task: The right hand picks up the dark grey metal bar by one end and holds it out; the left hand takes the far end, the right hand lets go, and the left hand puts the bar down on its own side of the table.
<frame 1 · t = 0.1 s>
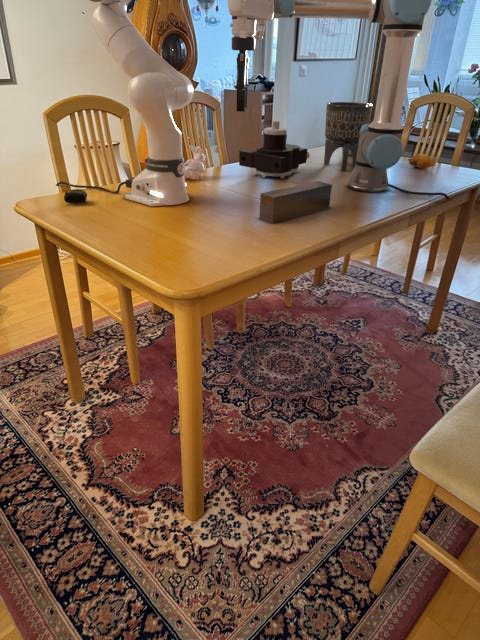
left hand: (251, 38, 121), 48 cm above the table, tool pointing down, fingers open, 8 cm apart
right hand: (242, 109, 155), 28 cm above the table, tool pointing down, fingers open, 13 cm apart
mechanical component: (280, 173, 196), on the table
rock: (358, 155, 238), on the table
toy: (420, 167, 214), on the table
figurine: (192, 178, 185), on the table
bar: (295, 213, 147), on the table
tape measure: (77, 203, 151), on the table
planter: (341, 167, 211), on the table
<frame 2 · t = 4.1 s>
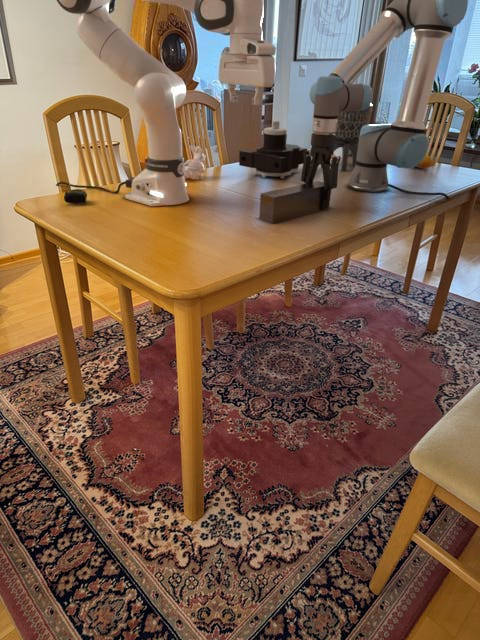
left hand: (244, 103, 130), 32 cm above the table, tool pointing down, fingers open, 8 cm apart
right hand: (316, 206, 152), 0 cm above the table, tool pointing down, fingers closed on bar, 6 cm apart
bar: (295, 213, 147), on the table, touching right hand
everything else where it was.
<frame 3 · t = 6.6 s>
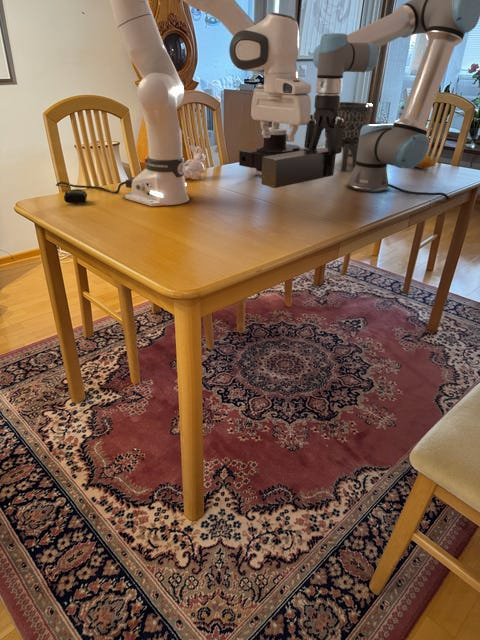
left hand: (278, 139, 129), 23 cm above the table, tool pointing down, fingers open, 8 cm apart
right hand: (319, 173, 147), 11 cm above the table, tool pointing down, fingers closed on bar, 6 cm apart
bar: (298, 179, 141), point 11 cm above the table, touching right hand
everything else where it was.
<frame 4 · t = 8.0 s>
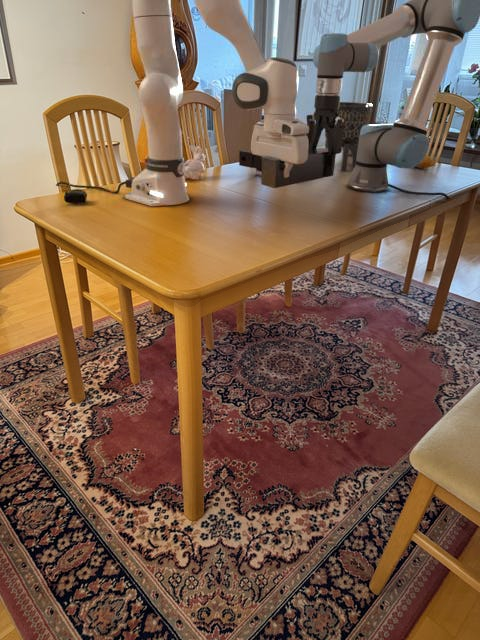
left hand: (276, 174, 134), 13 cm above the table, tool pointing down, fingers closed on bar, 6 cm apart
right hand: (319, 173, 147), 11 cm above the table, tool pointing down, fingers closed on bar, 6 cm apart
bar: (298, 179, 141), point 11 cm above the table, touching right hand, left hand
everything else where it was.
when the right hand's fingers open (11 cm above the table, at t = 9.1 s): bar stays where it is, held by the left hand.
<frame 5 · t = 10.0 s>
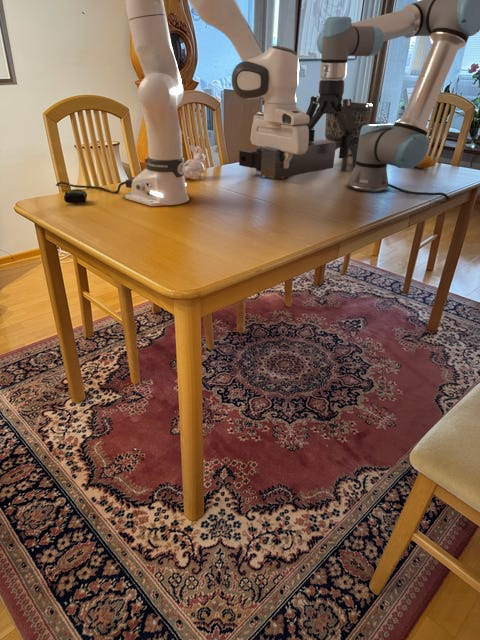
left hand: (276, 165, 133), 16 cm above the table, tool pointing down, fingers closed on bar, 6 cm apart
right hand: (325, 154, 145), 17 cm above the table, tool pointing down, fingers open, 13 cm apart
bar: (298, 171, 140), point 13 cm above the table, touching left hand
everything else where it was.
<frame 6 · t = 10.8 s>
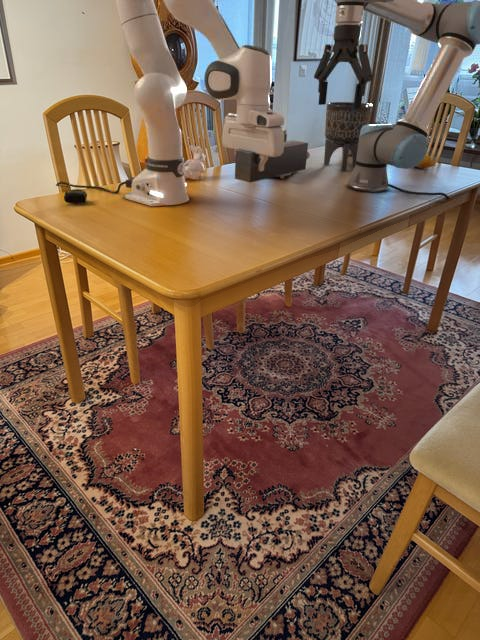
left hand: (250, 168, 129), 16 cm above the table, tool pointing down, fingers closed on bar, 6 cm apart
right hand: (339, 106, 140), 31 cm above the table, tool pointing down, fingers open, 13 cm apart
bar: (271, 173, 137), point 13 cm above the table, touching left hand
everything else where it was.
when the left hand's fingers open (4 cm above the table, at t = 13.9 s): bar stays where it is, on the table.
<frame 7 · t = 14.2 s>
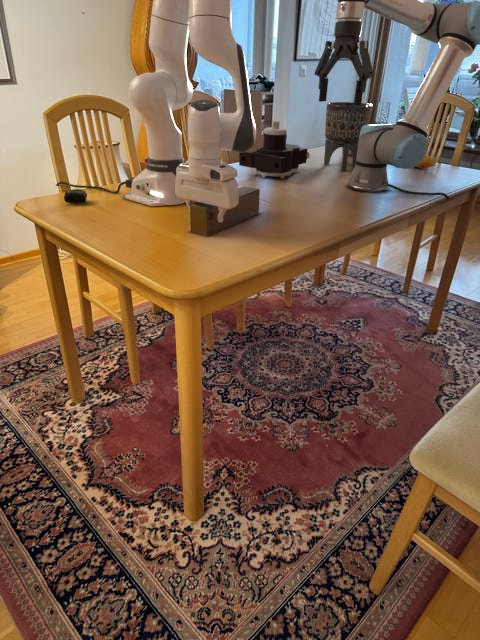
left hand: (206, 218, 128), 4 cm above the table, tool pointing down, fingers open, 8 cm apart
right hand: (339, 103, 140), 32 cm above the table, tool pointing down, fingers open, 13 cm apart
bar: (226, 222, 137), on the table
everything else where it was.
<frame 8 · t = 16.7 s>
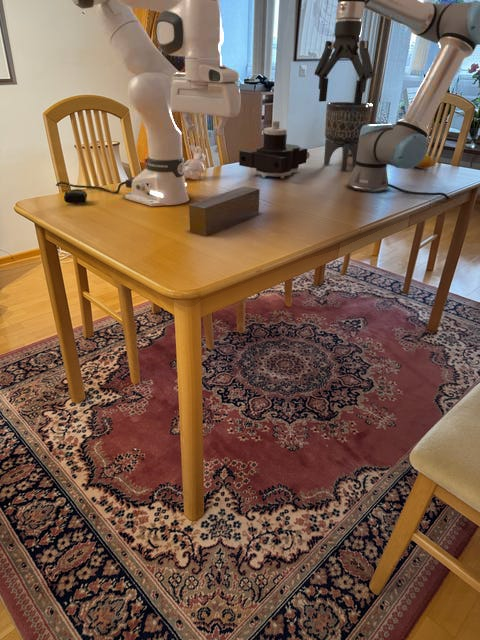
left hand: (204, 133, 117), 26 cm above the table, tool pointing down, fingers open, 8 cm apart
right hand: (339, 103, 140), 32 cm above the table, tool pointing down, fingers open, 13 cm apart
nothing on the table moved.
at the end: bar inside the target area (9.8 cm from its centre), on the table; the left hand is holding nothing; the right hand is holding nothing; bar at rest at the end (0.0 cm/s) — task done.
